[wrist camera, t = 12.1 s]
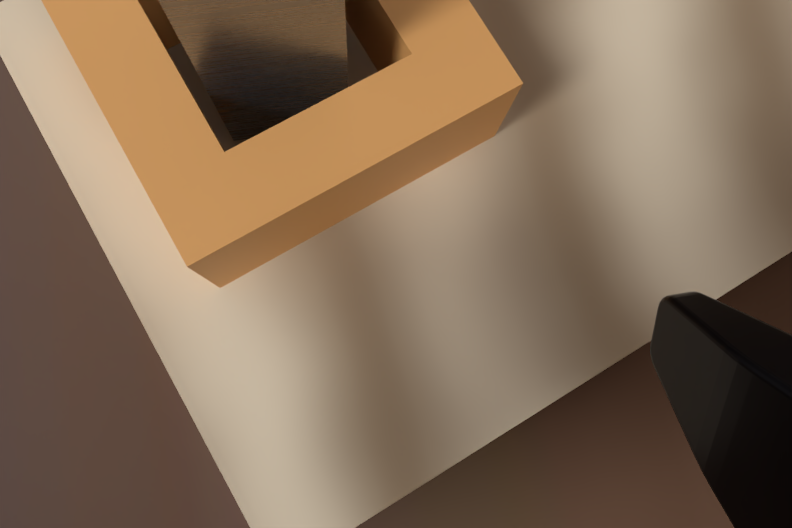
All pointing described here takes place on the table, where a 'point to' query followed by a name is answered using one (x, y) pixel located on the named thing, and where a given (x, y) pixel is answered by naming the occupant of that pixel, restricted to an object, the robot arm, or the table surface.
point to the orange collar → (289, 124)
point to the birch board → (455, 246)
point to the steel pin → (263, 56)
